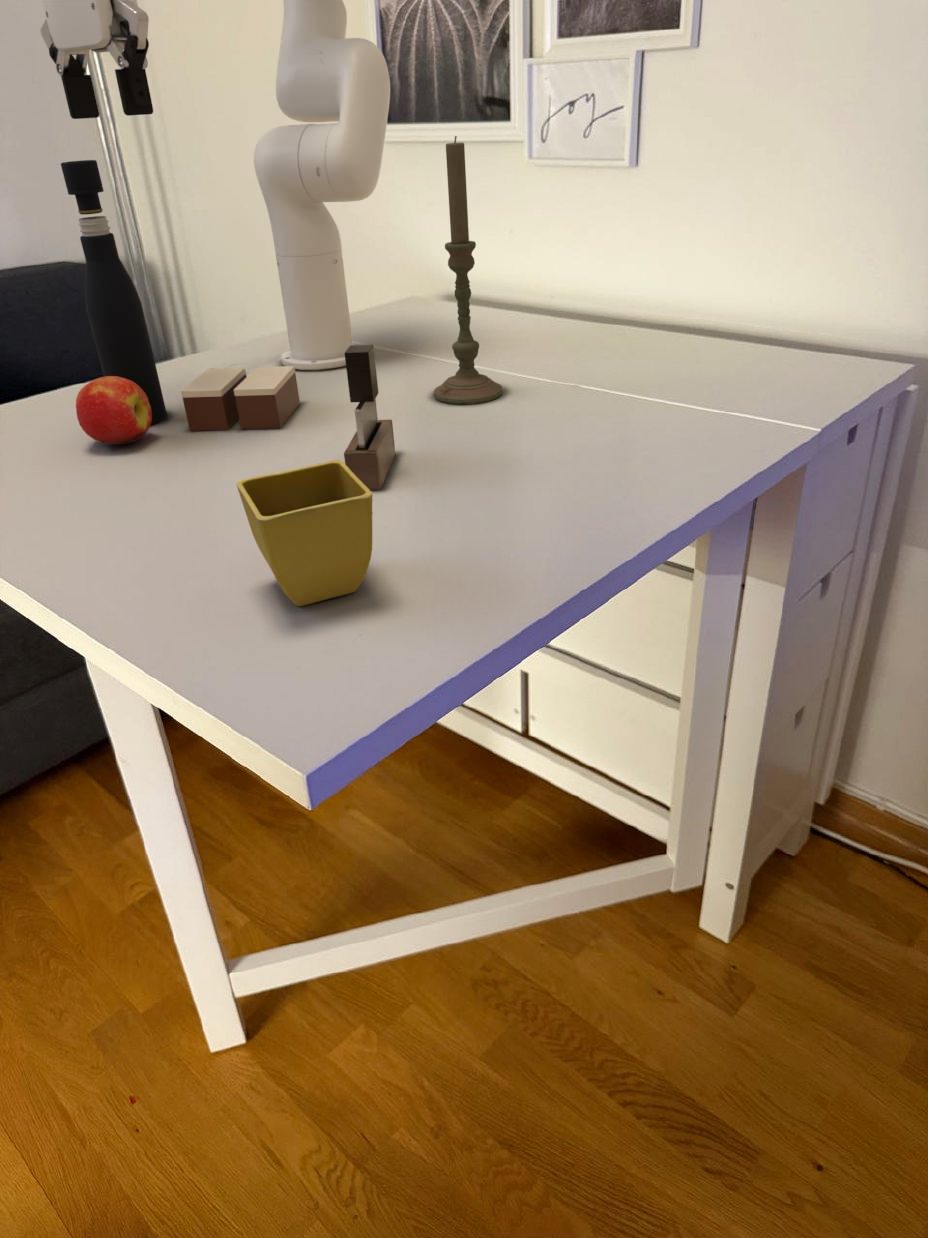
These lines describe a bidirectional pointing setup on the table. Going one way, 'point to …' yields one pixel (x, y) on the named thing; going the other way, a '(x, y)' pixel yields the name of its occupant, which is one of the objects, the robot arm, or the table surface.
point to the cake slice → (267, 397)
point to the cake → (213, 399)
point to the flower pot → (311, 529)
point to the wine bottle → (112, 293)
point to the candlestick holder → (462, 293)
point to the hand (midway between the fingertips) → (111, 116)
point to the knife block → (372, 456)
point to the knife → (363, 391)
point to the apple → (113, 410)
